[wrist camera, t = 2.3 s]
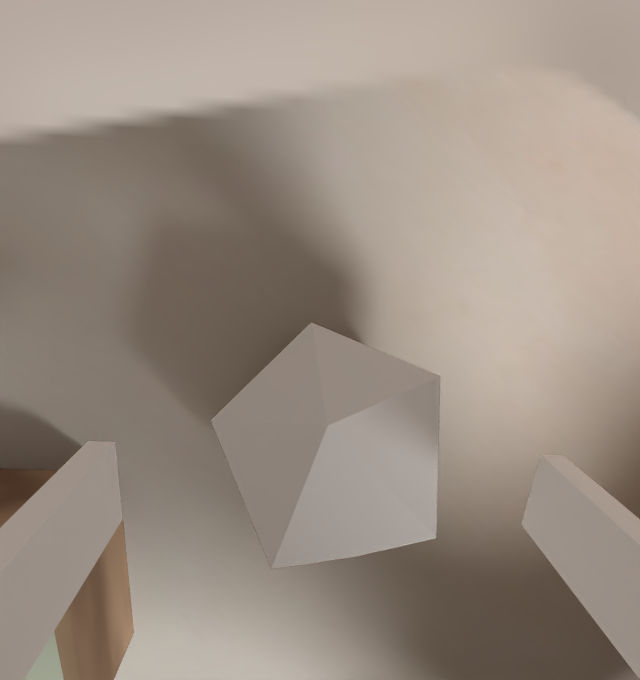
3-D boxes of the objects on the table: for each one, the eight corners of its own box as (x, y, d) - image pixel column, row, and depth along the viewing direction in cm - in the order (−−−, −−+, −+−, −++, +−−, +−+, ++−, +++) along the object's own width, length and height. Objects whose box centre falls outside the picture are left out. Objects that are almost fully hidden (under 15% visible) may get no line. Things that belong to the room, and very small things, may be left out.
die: (280, 281, 17) (111, 446, 10) (479, 300, 13) (414, 576, 7) (310, 401, 22) (208, 566, 15) (462, 440, 18) (414, 678, 12)
